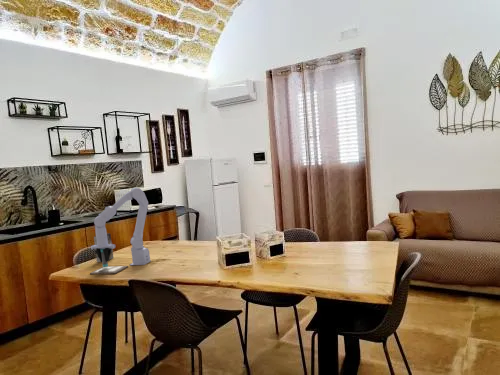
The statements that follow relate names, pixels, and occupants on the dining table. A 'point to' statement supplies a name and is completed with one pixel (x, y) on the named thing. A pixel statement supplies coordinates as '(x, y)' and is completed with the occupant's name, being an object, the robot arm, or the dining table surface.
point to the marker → (103, 258)
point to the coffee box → (104, 247)
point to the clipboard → (109, 270)
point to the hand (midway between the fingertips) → (104, 261)
